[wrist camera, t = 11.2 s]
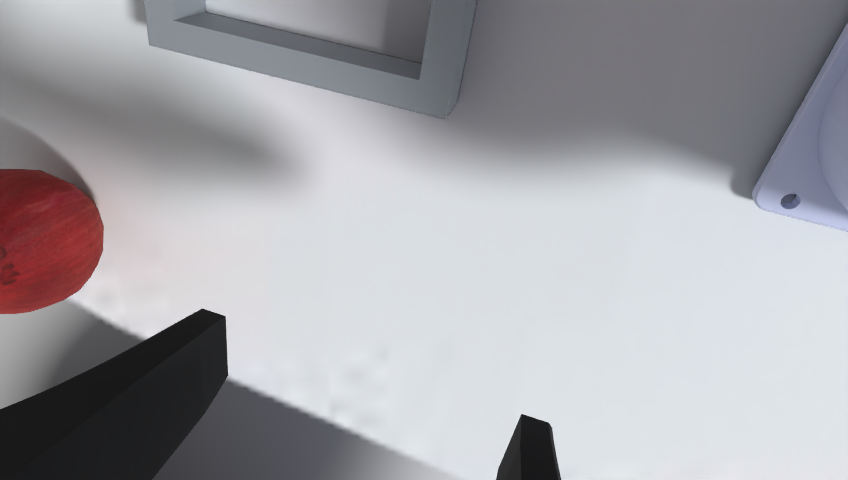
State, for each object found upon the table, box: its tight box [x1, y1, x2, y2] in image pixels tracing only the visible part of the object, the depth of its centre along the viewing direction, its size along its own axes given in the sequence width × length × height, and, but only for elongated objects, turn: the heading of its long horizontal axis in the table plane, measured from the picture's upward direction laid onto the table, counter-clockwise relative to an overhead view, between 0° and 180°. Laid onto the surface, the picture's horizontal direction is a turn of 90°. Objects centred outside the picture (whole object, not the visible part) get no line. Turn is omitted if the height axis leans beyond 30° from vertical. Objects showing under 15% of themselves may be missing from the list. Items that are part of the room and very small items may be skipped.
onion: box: [0, 169, 104, 314], centre depth 22 cm, size 6×6×8 cm
